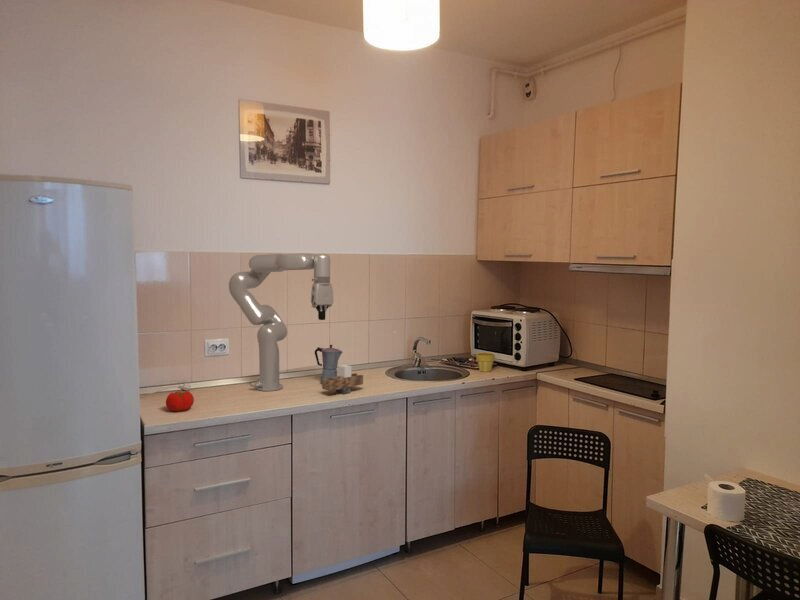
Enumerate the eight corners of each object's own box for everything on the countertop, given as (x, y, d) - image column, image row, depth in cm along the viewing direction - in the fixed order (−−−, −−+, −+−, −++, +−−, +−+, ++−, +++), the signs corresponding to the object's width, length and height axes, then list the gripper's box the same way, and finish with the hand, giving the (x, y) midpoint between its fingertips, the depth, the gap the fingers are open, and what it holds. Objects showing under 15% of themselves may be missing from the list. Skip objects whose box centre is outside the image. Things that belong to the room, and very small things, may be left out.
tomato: (196, 405, 235) (195, 388, 235) (190, 413, 224) (189, 395, 224) (170, 406, 234) (169, 389, 233) (163, 414, 223) (162, 396, 222)
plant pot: (484, 368, 321) (484, 351, 320) (498, 371, 313) (498, 354, 312) (472, 370, 314) (472, 353, 313) (485, 373, 306) (486, 356, 306)
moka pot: (339, 386, 273) (340, 346, 271) (310, 384, 276) (310, 345, 274) (345, 381, 282) (345, 343, 281) (317, 380, 285) (317, 342, 284)
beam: (329, 397, 251) (330, 381, 251) (321, 394, 256) (321, 379, 255) (363, 390, 265) (363, 375, 265) (355, 387, 270) (355, 373, 269)
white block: (344, 382, 258) (344, 367, 257) (338, 380, 261) (338, 365, 261) (351, 381, 260) (351, 366, 260) (344, 379, 264) (344, 364, 263)
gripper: (313, 281, 247) (313, 321, 249) (339, 280, 257) (339, 319, 259) (303, 280, 253) (303, 320, 254) (330, 279, 263) (330, 317, 264)
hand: (321, 319), depth 257 cm, fingers closed
